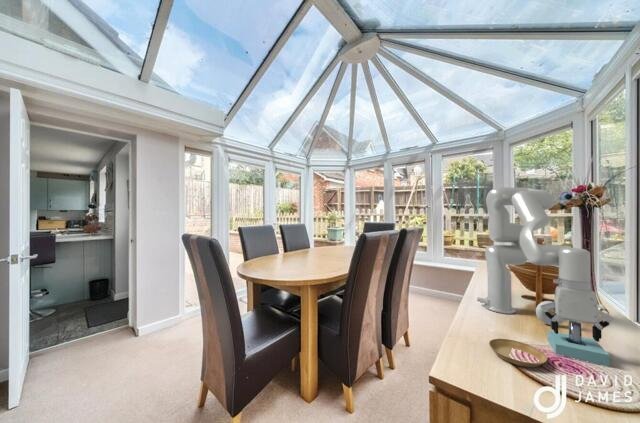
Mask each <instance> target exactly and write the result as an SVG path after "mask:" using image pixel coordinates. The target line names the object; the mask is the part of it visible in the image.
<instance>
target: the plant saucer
mask: <svg viewBox="0 0 640 423" xmlns="http://www.w3.org/2000/svg"><path fill="white" fill-rule="evenodd" d="M488 346H489V347H490V348H491V350H492V351H493V352H494V354H496V356H497V357H499V358H501V359H502V360H504V361H506V362H507V363H510V364H512V365H516V366H519V367H523V366H524V367H525V368H536V367H539V366H541V365H543V364H546V362H547V361H548V356H547V355H546V354H545V353H544V352H543V351H542V350H540V349H538V348H536V347H534V346H533V345H530V344H528V343H525V342H521V341H519V340H513V339H507V338H494V339H491V340H489V342H488ZM512 348H513V349H518V350H521V351H523V352H526V353H528V354H531V355H533V356H535V357H536V358H537V359H538V360H539V363H530V362H524V361H526V360H524V361H519V360H515V359H512V358H511V357H510V356H509V354H510V351H511V349H512ZM522 360H523V359H522Z"/></svg>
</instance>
